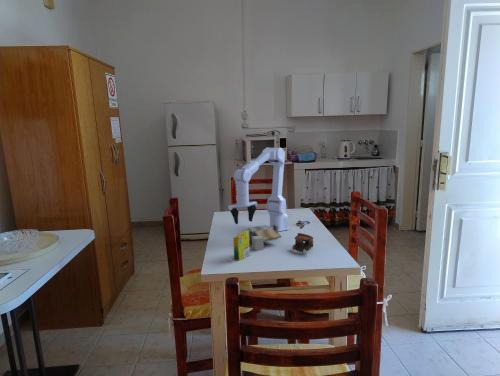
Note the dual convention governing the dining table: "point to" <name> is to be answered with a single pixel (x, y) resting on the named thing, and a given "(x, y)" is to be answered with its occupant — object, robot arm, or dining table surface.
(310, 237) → the brown figurine
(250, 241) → the frame
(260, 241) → the grey rectangular block
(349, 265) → the dining table surface
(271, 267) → the dining table surface
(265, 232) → the trapdoor
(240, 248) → the crayon box
